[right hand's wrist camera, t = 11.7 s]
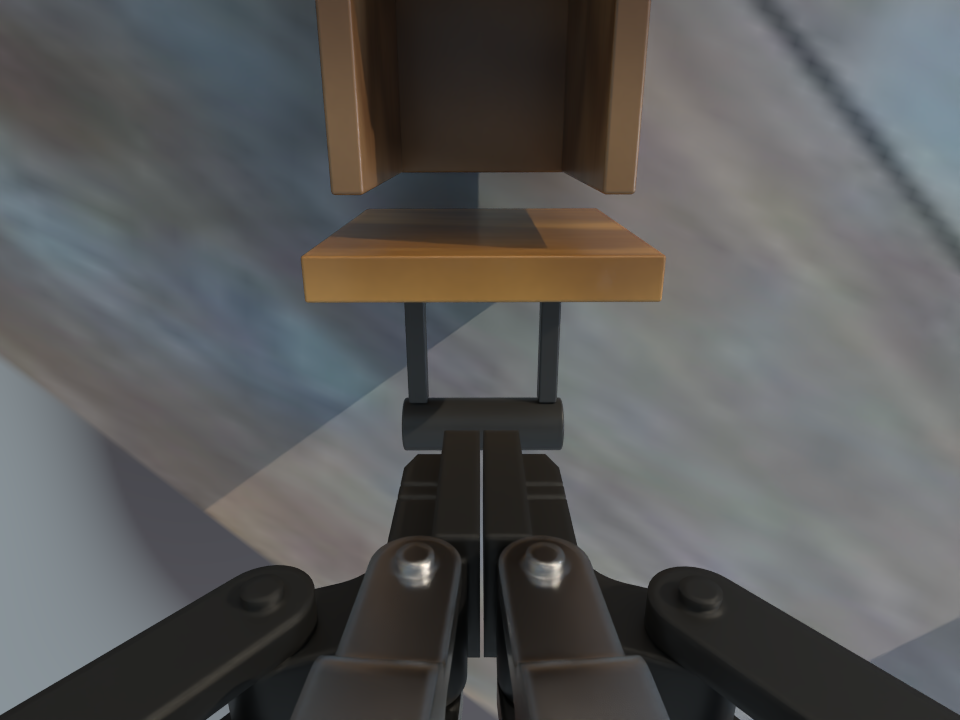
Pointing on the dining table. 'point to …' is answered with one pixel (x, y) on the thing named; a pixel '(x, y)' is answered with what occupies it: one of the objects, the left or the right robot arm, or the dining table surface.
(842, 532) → the dining table surface
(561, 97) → the drawer
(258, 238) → the dining table surface
